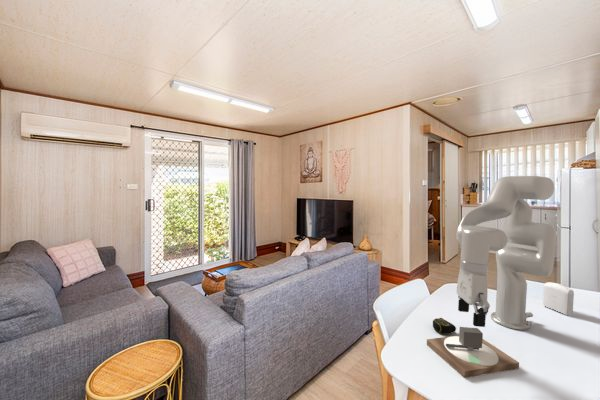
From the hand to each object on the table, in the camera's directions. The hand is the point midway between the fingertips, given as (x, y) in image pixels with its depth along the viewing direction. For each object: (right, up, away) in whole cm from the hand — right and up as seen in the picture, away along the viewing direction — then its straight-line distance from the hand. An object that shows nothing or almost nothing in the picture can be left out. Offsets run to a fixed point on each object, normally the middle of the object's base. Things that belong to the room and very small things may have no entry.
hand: (470, 318), depth 84 cm
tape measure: (0, -13, +16) cm, 21 cm away
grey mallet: (-2, -10, +1) cm, 11 cm away
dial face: (0, -11, +1) cm, 11 cm away
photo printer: (+62, -12, +33) cm, 71 cm away
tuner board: (0, -13, +1) cm, 13 cm away
